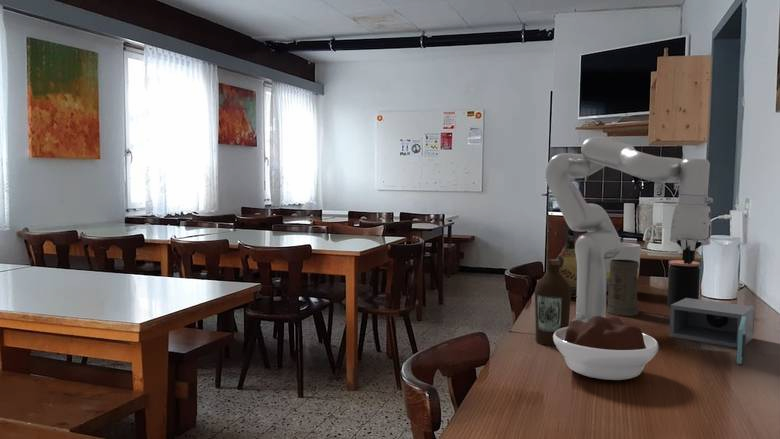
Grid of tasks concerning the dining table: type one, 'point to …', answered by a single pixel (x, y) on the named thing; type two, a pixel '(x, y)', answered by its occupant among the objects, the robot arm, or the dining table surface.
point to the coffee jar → (683, 281)
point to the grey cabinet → (710, 321)
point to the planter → (624, 257)
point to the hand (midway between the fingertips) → (688, 263)
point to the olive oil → (551, 304)
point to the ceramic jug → (569, 261)
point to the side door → (741, 340)
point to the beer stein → (623, 288)
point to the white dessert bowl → (605, 348)
